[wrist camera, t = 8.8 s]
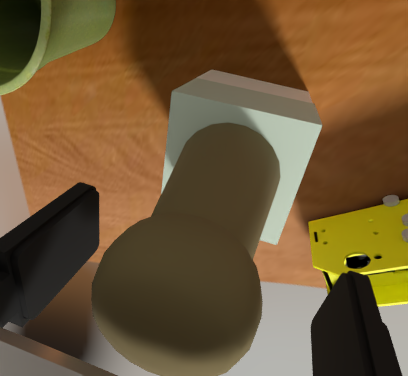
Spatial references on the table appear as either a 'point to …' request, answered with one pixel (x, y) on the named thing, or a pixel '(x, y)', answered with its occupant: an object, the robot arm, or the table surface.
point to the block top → (254, 119)
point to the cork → (192, 260)
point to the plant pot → (46, 34)
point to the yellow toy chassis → (366, 248)
